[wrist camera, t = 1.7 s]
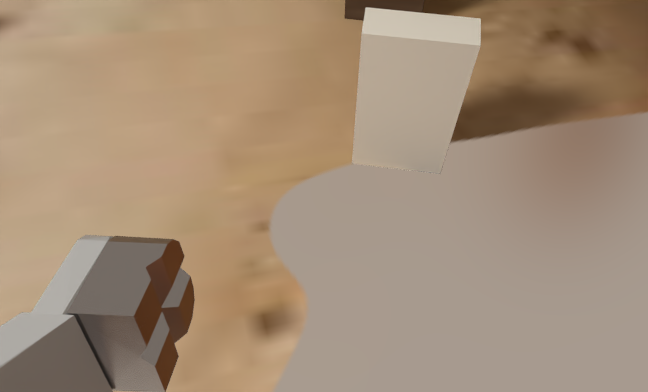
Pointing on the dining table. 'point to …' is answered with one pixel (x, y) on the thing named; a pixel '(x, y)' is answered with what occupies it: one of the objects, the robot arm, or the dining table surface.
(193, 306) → the robot arm
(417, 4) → the domino
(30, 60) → the dining table surface
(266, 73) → the dining table surface
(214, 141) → the dining table surface
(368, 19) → the ivory domino
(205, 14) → the dining table surface
